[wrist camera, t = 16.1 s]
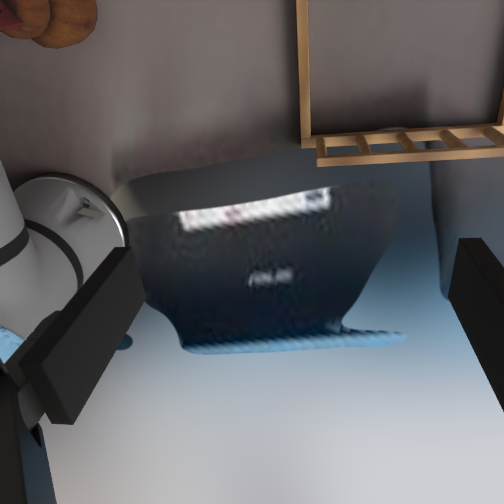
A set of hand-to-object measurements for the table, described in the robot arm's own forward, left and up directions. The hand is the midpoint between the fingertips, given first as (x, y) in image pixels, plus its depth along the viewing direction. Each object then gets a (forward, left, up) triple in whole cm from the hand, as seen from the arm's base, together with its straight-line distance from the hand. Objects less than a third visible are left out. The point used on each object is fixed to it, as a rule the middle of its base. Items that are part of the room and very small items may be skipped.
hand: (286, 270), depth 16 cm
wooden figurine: (-21, +12, -29) cm, 38 cm away
